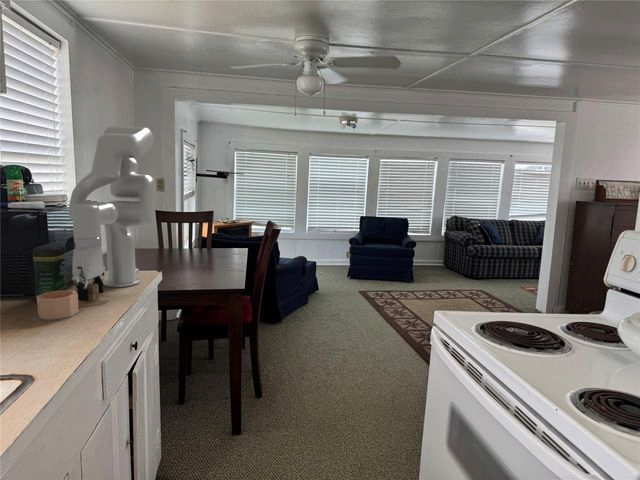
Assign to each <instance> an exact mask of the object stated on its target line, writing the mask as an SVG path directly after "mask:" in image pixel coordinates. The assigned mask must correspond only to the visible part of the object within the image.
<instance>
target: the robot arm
mask: <svg viewBox="0 0 640 480" xmlns="http://www.w3.org/2000/svg"><path fill="white" fill-rule="evenodd" d="M153 143H154V134H153V133H152V131H151V129H149V128H148V127H145V126H144V127H143V126H128V125H127V126H126V125H115V126H114V125H113V126H108V127H107V128H105V129H104V131H103V134H102V135H100V136H98V139H97V143H96V146H95V147H96V148H95V151H94V157H93V163H92V167H91V168H92V169H91V171H90V172H89V173H88V174H87V175H85V176H84V177H82V179H80V181H79V182H78V183H77V184H76V186H74V188H73V190H72V192H71V195H70V199H69V205H68V217H69V219H70V220H71V222H72V229H73V242H74V245H73V246H74V249H73V251H72V252H73V253H72V266H71V267H72V268H71V269H72V270H71V272H72V278H71V281H72V282H73V284H74V286H75V289H76V290H77V291H76V292H77V293H78V300H79V301H88V300H89V292H88V288H87V284H89V281H90V280H93V281H92V284H98V289H99V294H103V293H104V286H105V287H110V288H123V287H124V288H126V287H131V286H136V285H138V284H140V283H141V278H140V277H137V275H136V274H138V273H139V272H140V270H139V268H136V247H135V236H134V234H133V233H132V231H131V229H130V228H129V227H136V228H137V227H140V228H141V227H144V228H145V227H148V226H150V225H151V224H152V223H153V219H154V212H155V204H156V203H155V202H156V194H157V193H156V192H157V187H156V182H155V179H154V178H153V177H152V176H151V175H149V174H143V173H142V174H141V173H140V174H139V173H138V167H139V166H138V165H139V164H138V161H137V160H136V159H140V158H141V157H143V156H144V155H145V154H147V152H149V151H150V149H151V148H152V146H153ZM107 185H110V187H109V188H110V194H111V196H113V197H114V198H116V199H122V200H111V201H110V200H109V201H107V202H103V201H86V200H87V198H88V197H89V196H90V195H91V194H92V193H93V192H94V191H96V190H99V189H100V188H102V187H106V186H107ZM123 199H125V200H123ZM130 200H132V201H130ZM133 200H135V201H133ZM137 200H138V201H137ZM103 225H104V230H105V231H104V232H105V242H106V261H107V263H106V264H107V279H106V280H105V279H104V277H105V276H104V275H105V271H106V266H105V265H104V255H103V250H102V249H103V248H102V247H103V245H102V230H101V229H102V228H101V226H103Z"/></svg>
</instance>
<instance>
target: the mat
mask: <svg viewBox="0 0 640 480" xmlns="http://www.w3.org/2000/svg"><path fill="white" fill-rule="evenodd" d="M84 311H86V309H79V312H78V313H77V314H76V315H74V316H72V317H69V318H65V319H59V320H42V319H40V318H39V315H37V316H35V317H33V318H31V319H29V321H43V322H44V321H49V322H66V321H68V320H69V319H71V318H73V317H75V316H77V315H79V314H81V313H83V312H84Z"/></svg>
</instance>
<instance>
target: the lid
mask: <svg viewBox="0 0 640 480" xmlns="http://www.w3.org/2000/svg"><path fill="white" fill-rule="evenodd" d="M87 288H88V292H89V300H88V301H79V300H78V307H79V308H88V307H95V306H102V305H104V304H107V303H109V302H110V301H111V297H110V296H108V295H105V294H103V295H102V294H100V293H99V289H98V284H93V283H88V284H87Z"/></svg>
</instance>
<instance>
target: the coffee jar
mask: <svg viewBox="0 0 640 480" xmlns="http://www.w3.org/2000/svg"><path fill="white" fill-rule="evenodd" d="M50 243H51V244H48V243H47V244H42V245H40V246H36V247H35V248H33V249H32V260H33V265H34V279H35V280H34V282H35V284H34V285H35V290H34V291H35V293H34V294H35V301H36V302H37V296H38V295H41V294H43V293H46V292H52V291H59V290H69V289H68V282H67V271H66V269H67V268H66V247H65V246H64V245H63V244H62V243H59V242H58V243H53V242H50Z"/></svg>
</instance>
